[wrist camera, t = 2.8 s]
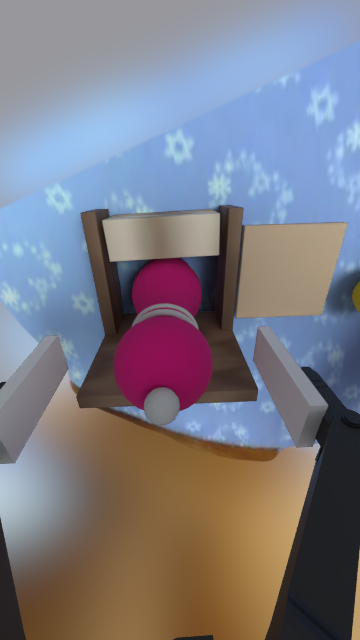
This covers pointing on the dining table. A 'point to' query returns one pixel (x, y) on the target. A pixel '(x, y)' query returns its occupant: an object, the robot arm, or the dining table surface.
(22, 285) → the dining table surface
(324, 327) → the dining table surface
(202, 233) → the offcut top
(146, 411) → the pepper mill
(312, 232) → the cork mat
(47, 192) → the dining table surface
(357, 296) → the lemon
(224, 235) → the rack
